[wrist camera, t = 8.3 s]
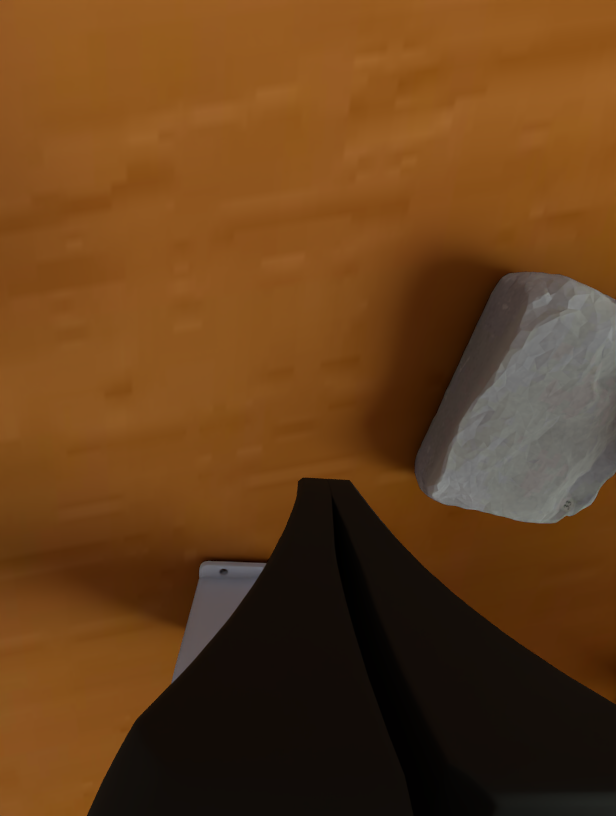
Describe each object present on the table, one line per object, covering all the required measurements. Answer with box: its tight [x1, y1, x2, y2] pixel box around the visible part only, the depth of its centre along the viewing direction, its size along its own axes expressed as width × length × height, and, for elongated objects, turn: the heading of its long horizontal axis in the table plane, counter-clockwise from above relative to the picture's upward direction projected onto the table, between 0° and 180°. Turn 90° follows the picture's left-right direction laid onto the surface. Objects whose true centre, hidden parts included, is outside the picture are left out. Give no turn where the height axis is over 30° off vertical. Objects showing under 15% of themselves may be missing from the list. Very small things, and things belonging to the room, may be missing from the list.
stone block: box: [415, 272, 616, 523], centre depth 19 cm, size 12×5×10 cm
